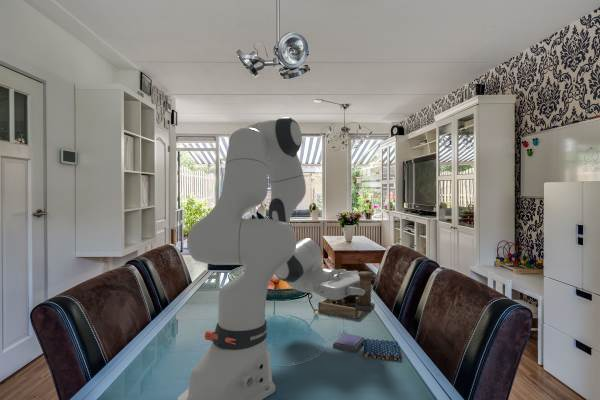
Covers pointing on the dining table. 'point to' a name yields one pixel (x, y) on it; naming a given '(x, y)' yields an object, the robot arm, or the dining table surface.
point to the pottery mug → (348, 301)
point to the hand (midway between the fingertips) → (368, 290)
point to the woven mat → (381, 349)
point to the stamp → (365, 299)
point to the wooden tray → (338, 308)
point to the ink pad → (349, 342)
